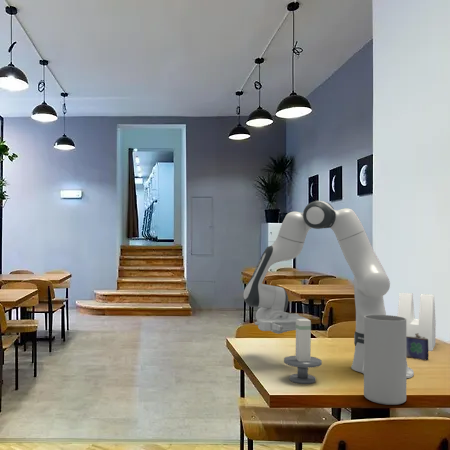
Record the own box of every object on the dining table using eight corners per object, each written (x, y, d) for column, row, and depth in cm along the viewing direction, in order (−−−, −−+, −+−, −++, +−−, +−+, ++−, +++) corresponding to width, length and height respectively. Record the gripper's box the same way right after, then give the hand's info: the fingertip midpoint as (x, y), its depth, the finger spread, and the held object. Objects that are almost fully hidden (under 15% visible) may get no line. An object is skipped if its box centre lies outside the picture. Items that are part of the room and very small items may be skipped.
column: (306, 358, 166) (306, 318, 166) (310, 361, 162) (311, 320, 162) (295, 358, 165) (295, 318, 166) (299, 361, 161) (299, 320, 162)
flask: (405, 357, 201) (405, 332, 201) (407, 356, 203) (407, 331, 204) (427, 360, 195) (427, 335, 195) (429, 359, 197) (429, 334, 198)
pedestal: (324, 377, 166) (325, 358, 167) (316, 387, 155) (317, 366, 155) (289, 373, 172) (289, 354, 172) (279, 382, 160) (279, 361, 160)
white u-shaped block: (432, 351, 214) (432, 296, 215) (396, 347, 221) (396, 294, 222) (435, 344, 230) (435, 293, 232) (402, 340, 238) (402, 291, 239)
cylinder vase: (357, 392, 150) (358, 314, 152) (395, 392, 151) (395, 314, 152) (372, 405, 138) (373, 320, 139) (413, 405, 139) (413, 321, 140)
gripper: (253, 314, 183) (266, 319, 169) (300, 313, 189) (316, 318, 175) (252, 330, 182) (265, 337, 169) (300, 329, 188) (316, 335, 175)
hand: (292, 327), depth 172 cm, fingers open, 8 cm apart
